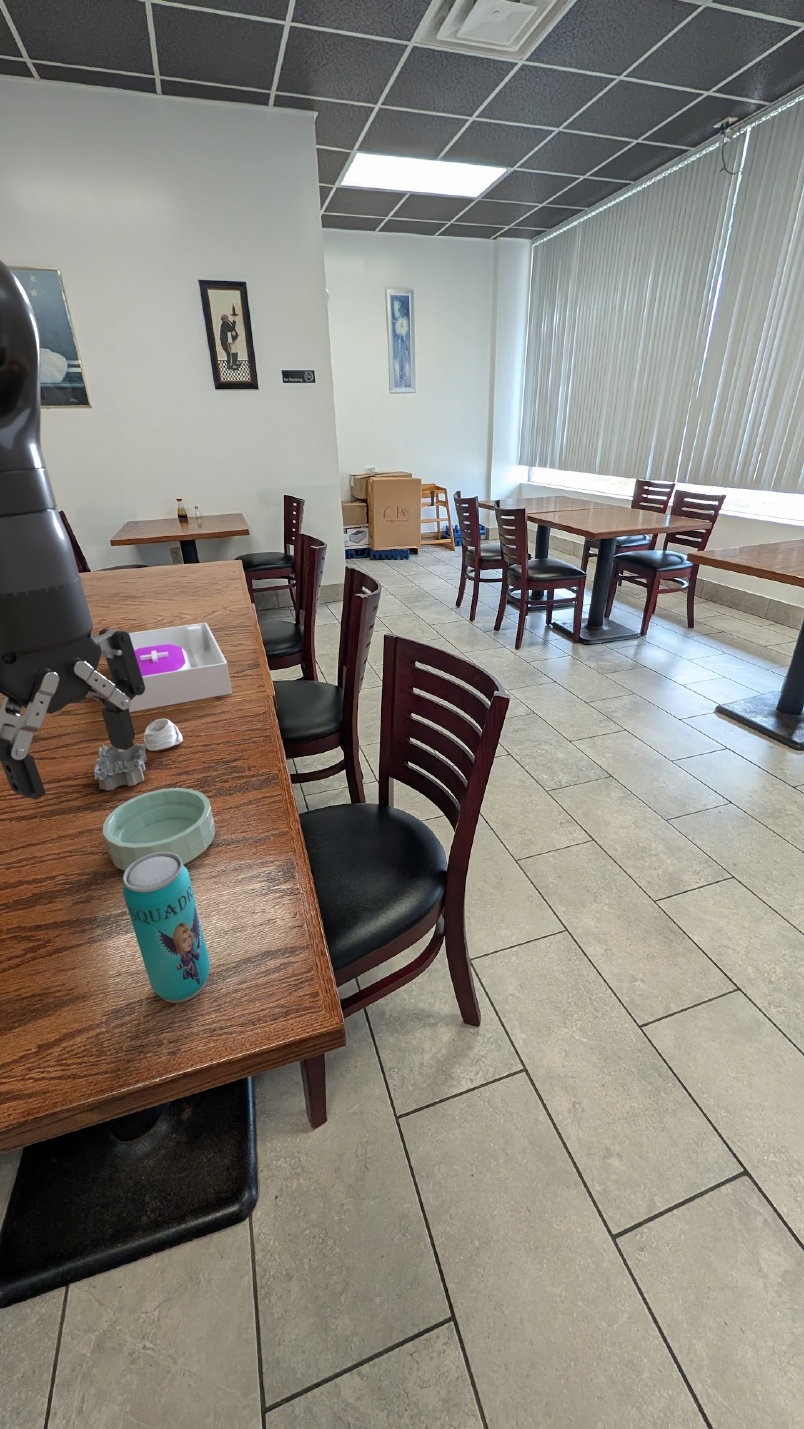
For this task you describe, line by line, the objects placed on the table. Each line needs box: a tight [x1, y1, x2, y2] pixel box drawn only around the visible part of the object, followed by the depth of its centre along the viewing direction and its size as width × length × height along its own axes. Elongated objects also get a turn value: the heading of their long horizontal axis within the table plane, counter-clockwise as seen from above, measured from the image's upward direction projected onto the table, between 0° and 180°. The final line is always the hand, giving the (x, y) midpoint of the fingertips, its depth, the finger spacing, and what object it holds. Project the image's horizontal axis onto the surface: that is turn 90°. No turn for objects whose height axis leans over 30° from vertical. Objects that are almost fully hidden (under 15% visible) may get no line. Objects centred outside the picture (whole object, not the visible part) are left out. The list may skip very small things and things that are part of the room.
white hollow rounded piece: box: [143, 718, 184, 752], centre depth 107 cm, size 8×7×5 cm
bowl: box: [102, 787, 216, 872], centre depth 80 cm, size 14×14×5 cm
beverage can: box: [122, 852, 211, 1004], centre depth 57 cm, size 6×6×15 cm
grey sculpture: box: [94, 742, 147, 791], centre depth 98 cm, size 11×8×4 cm
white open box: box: [128, 622, 233, 713], centre depth 138 cm, size 22×35×7 cm, turn 24°
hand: (81, 769), depth 49 cm, fingers open, 8 cm apart
